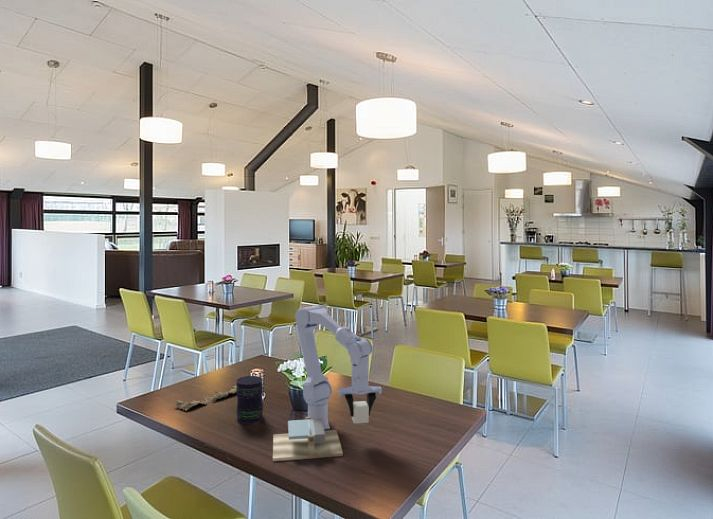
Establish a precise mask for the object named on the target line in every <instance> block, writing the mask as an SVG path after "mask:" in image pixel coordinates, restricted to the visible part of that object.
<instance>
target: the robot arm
mask: <svg viewBox="0 0 713 519" xmlns="http://www.w3.org/2000/svg"><path fill="white" fill-rule="evenodd" d="M294 318H295V324H296V328H297V335H298V340H299V344H300V348H301V353H302V357H303V363H304V368H305V372H306V376H307V377H306V379H305V381H304V382H303V383H302V388H303V391H302V394H303V395H302V396H303V399H304V401H305V403H306V404H307V417H310V416H311V419H322V423H323V428H324V430H330V424H329V423H330V422H329V420H328V419H329V418H328V416H329V414H328V402H329V401H330V397H332V394H333V388H332V386H331V383H330V381H329V377H327V376H326V375H324V374H323V372H322V368H321V363H320V359H319V355H318V351H317V350H318V349H317V345H316V340H315V335H314V331H315V329H316V328H317V327H318V326H319V325H321V326H322V327H324V328H325V329H327V330H328V331H329V332H331V333H332V334H334V335H335V340H336V342H337V343H339V344H340V345H342V346H343V347H344V348H345V349H346V350H347V353H348V356H349V358H350V363H351V386H349V387H348V386H347V387H343V388H338V390H337V391H338V393H337V394H338V397H342V396H344V397H345V399H346V402H347V404H348V409H349V416H350V417H351V418H352V417H353V402H354V398H353V397H354V396H355V395H356V396H357V395H366V402H367V404H368V406H369V417H370V415H371V410H372V408H373V405H374V402H375V401H376V399H377V394H378V395H382V392H383V390H382V387H381V386H374V385H373V386H372V385H369V383H370V382H369V375H370V374H369V373H370V372H369V368H370V367H369V365H370V364H369V363H370V361H369V357H370V355H371V354H372V352H373V345H372V343H371V341H370V340H369V339H368V338H365V337H364V338H362V337H361V336H359V335H357V334H356V333H355V332H353V331H352V330H351V327H350V326H341V325H340V324H339V323H338V322H337V321H336V320H335V319H334V318H332V317H331V315H329V313H328V311H327V309H326V308H325V307H324V306H322V305H321V304H316V305H312V306H311V305H310V306H307V307H305V306H304V307H299V308H298V309H297V310H296V313H295V315H294ZM353 395H354V396H353Z"/></svg>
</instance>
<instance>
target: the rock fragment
mask: <svg viewBox="0 0 713 519" xmlns="http://www.w3.org/2000/svg"><path fill="white" fill-rule="evenodd" d="M233 387H234V388H235V389H231V388H230V389H231V390H230V391H229V392H228V391H225V392H223V391H221V390H218V391H214V393H218V394H217V395H214V396H213V397H210V396H209V397H207V398H205V397H206V396H203V397H204V398H205V400H206V401H205V402H204V401H201V400H198V401H195V400H192V401H193V402H191V401H182V400H179V399H174V400H173V402H174V404H175V405H176V406H177V407H178V409H182V410H183V411H184V410H185V411H188V410H189V409H191V408H192V407H195V406H197V405H199V404H202V405H205V406H207V405H206V404H207V403H208V402H215V403H216V401H217V400H218V399H219V400H220V399H222V398H226V397H227V396H229V395H230V394H235V393H237V391H236V387H237V385H234V386H233ZM200 401H201V402H200Z"/></svg>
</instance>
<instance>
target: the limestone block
mask: <svg viewBox="0 0 713 519" xmlns="http://www.w3.org/2000/svg"><path fill="white" fill-rule="evenodd" d="M369 417H370V416H369V406H368V404H367V400H360V401H353V417H351V420H352V421H353V424H366V423H367V424H368V423H370V422H369V420H370V419H369Z"/></svg>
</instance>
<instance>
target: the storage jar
mask: <svg viewBox="0 0 713 519" xmlns="http://www.w3.org/2000/svg"><path fill="white" fill-rule="evenodd" d="M236 386H237V387H236V391H237V392H235V393H236V397H237V398H236V400H237V404H236V416H237V417H236V421H237V422H238V421H239V422H238V423H240V422H241V424H246V423H247V424H255V423H258V422H260V421H262V420H263V418H264V415H263V412H264V406H263V405H264V404H263V392H264V390H263V389H264V388H263V387H264V385H263V378H262V377H261V376H259V375H257V376H256V375H246V376H242V377H241V376H240V377H239V378H237V380H236ZM247 424H246V425H247Z"/></svg>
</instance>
